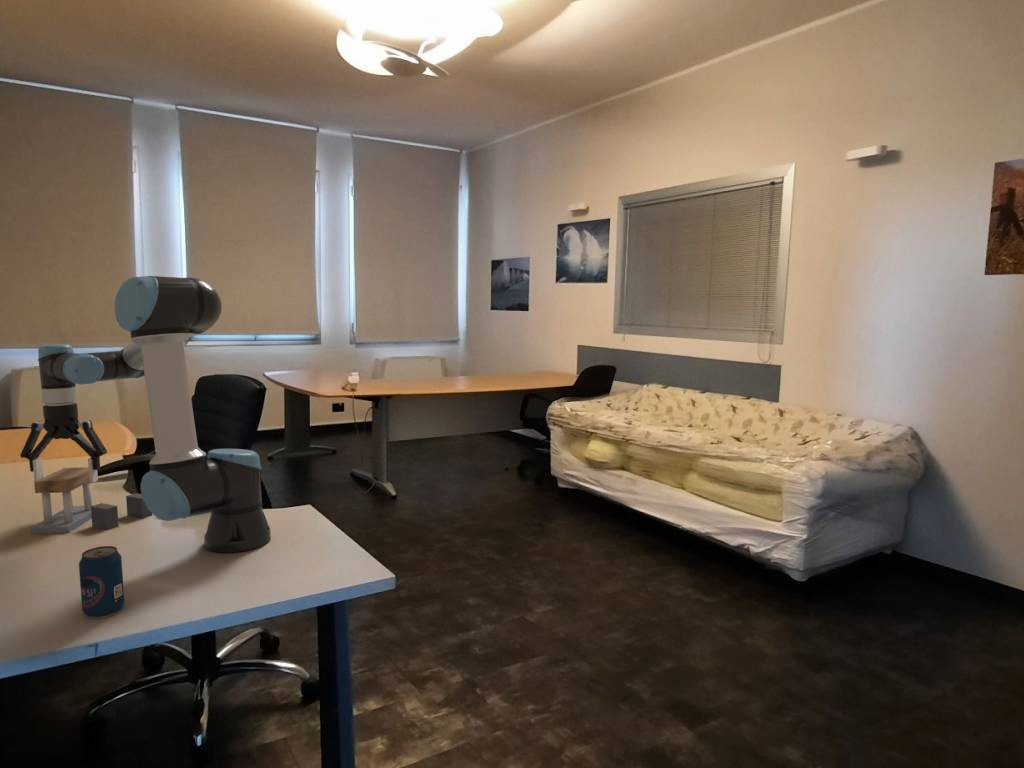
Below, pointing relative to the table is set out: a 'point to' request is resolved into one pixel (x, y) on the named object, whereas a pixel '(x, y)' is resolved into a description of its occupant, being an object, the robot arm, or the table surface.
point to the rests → (108, 514)
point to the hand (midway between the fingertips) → (66, 482)
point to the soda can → (101, 582)
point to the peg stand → (64, 513)
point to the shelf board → (62, 480)
